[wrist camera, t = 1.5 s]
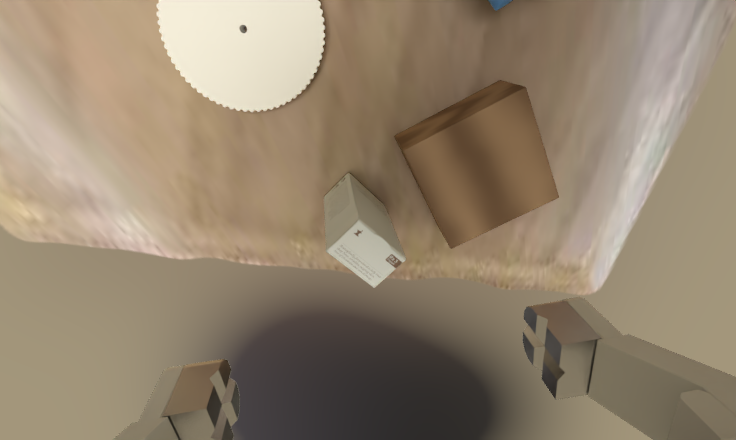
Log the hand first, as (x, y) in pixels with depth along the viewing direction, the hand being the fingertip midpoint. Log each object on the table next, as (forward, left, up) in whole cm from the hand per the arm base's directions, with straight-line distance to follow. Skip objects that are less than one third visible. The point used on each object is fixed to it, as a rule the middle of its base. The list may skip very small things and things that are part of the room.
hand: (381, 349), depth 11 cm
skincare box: (+3, +9, -33) cm, 34 cm away
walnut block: (-10, +10, -33) cm, 36 cm away
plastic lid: (+4, -11, -33) cm, 35 cm away
